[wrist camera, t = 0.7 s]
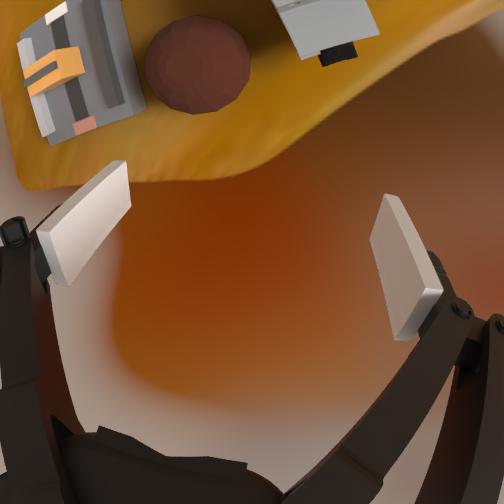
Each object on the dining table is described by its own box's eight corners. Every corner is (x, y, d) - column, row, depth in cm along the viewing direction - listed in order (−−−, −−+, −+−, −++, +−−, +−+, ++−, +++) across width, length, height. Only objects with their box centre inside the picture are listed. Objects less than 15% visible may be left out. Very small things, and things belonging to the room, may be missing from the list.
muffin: (157, 91, 36) (120, 106, 28) (179, 14, 29) (143, 6, 21) (242, 114, 37) (226, 134, 29) (271, 35, 30) (262, 29, 22)
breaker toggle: (47, 64, 29) (20, 71, 25) (78, 46, 28) (50, 50, 24) (54, 88, 32) (27, 98, 27) (85, 72, 30) (57, 79, 26)
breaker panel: (36, 31, 29) (12, 35, 25) (117, -17, 26) (94, -21, 22) (65, 138, 41) (43, 150, 36) (147, 108, 37) (128, 118, 33)
